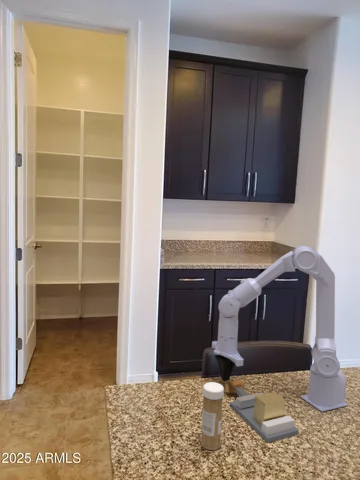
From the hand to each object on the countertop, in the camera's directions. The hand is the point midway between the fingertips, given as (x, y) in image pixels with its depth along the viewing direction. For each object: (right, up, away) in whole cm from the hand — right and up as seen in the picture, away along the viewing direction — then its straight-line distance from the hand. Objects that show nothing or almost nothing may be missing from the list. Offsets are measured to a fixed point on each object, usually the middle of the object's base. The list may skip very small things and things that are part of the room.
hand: (225, 379), depth 106 cm
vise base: (+7, -4, -16) cm, 18 cm away
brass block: (+8, -3, -19) cm, 21 cm away
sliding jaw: (+4, -1, -8) cm, 9 cm away
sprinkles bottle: (-7, -4, -27) cm, 28 cm away
